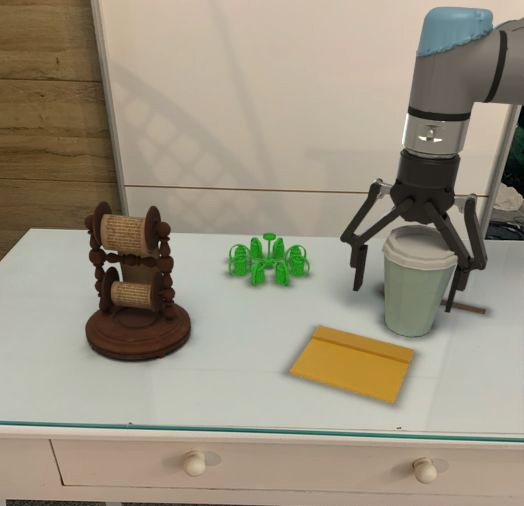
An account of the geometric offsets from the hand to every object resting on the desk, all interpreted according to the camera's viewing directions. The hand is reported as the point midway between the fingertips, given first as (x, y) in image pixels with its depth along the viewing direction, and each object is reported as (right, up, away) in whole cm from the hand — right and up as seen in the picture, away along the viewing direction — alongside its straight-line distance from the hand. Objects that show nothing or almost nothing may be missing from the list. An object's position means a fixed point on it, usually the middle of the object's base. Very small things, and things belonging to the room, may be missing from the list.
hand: (401, 297), depth 82 cm
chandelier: (-20, +6, +17) cm, 27 cm away
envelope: (-8, -10, -6) cm, 14 cm away
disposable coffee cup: (+1, -5, +3) cm, 6 cm away
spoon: (+7, 0, +10) cm, 12 cm away
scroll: (-38, -6, -1) cm, 39 cm away
